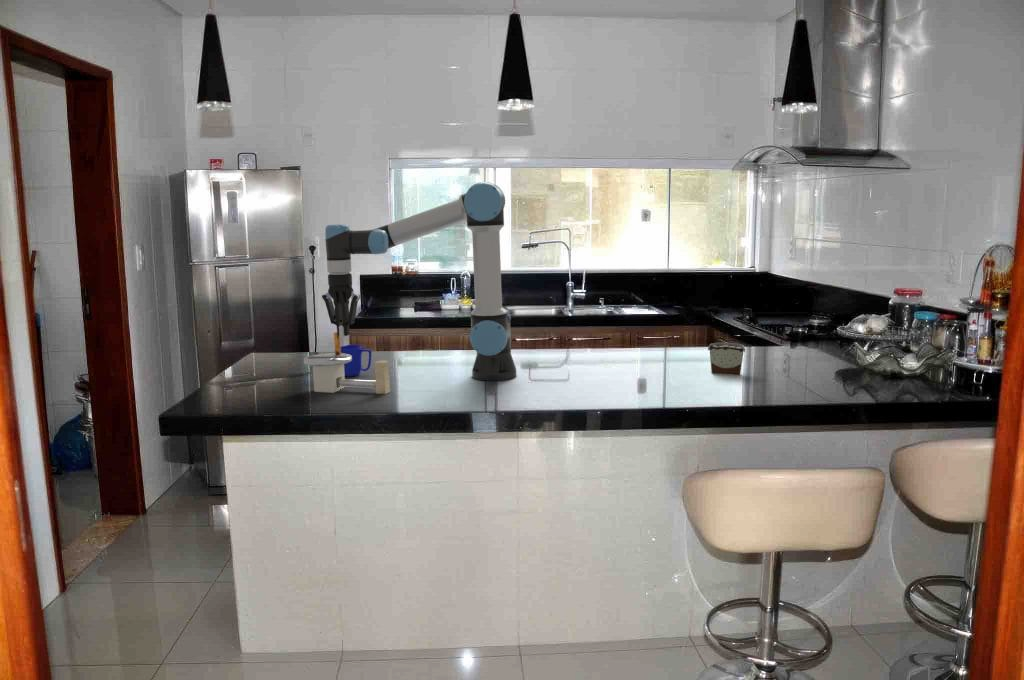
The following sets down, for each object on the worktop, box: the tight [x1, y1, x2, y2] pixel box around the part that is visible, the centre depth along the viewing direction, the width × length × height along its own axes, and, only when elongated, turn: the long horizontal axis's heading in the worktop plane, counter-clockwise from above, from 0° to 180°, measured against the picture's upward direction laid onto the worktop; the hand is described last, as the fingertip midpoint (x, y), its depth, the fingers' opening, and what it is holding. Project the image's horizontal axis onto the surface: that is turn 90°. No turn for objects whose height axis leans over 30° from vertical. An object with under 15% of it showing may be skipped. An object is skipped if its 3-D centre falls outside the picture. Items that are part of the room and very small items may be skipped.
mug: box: [341, 344, 372, 377], centre depth 272 cm, size 8×12×10 cm
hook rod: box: [336, 360, 391, 395], centre depth 250 cm, size 25×3×10 cm, turn 73°
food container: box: [707, 342, 746, 377], centre depth 264 cm, size 12×6×10 cm, turn 65°
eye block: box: [312, 364, 346, 394], centre depth 252 cm, size 7×7×9 cm
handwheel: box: [303, 331, 352, 367], centre depth 250 cm, size 15×15×8 cm
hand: (344, 345), depth 255 cm, fingers closed
